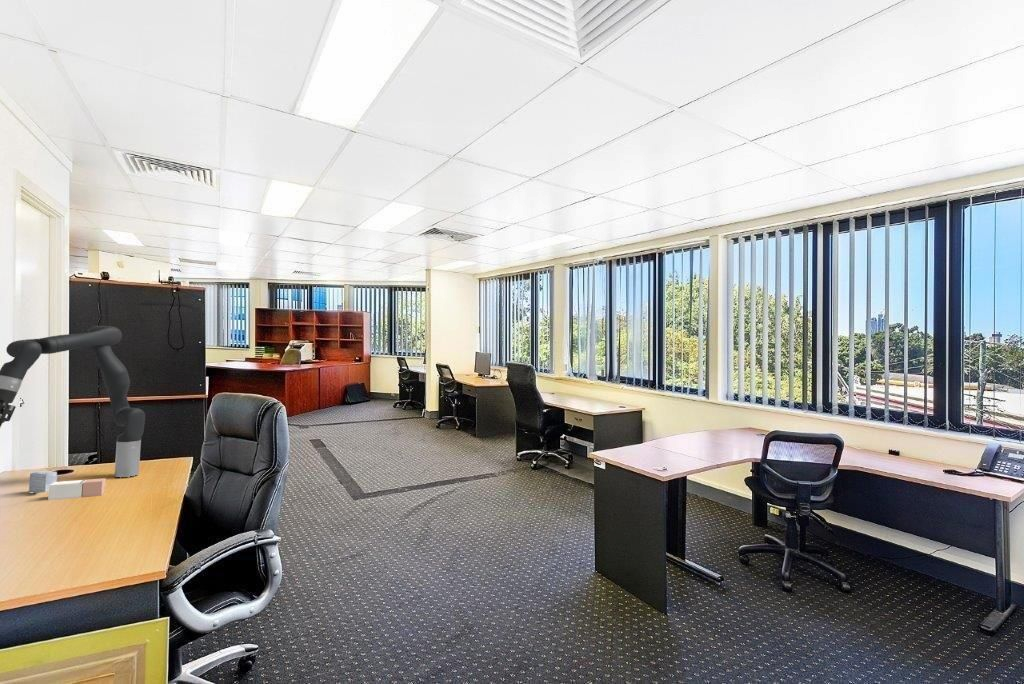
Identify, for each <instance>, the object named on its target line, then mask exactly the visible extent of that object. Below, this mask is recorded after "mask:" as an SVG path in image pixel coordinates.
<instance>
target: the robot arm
mask: <svg viewBox="0 0 1024 684" xmlns="http://www.w3.org/2000/svg"><path fill="white" fill-rule="evenodd" d="M122 334H123V333H122V331H121V330H120V329H119V328H118V327H116V326H111V325H93V326H91V327H90V328H89V329H88V330H87V332H84V333H83V332H82V333H70V334H69V333H68V334H59V335H52V336H47V337H46V336H45V337H41V338H30V339H20V340H14V341H12V342H10V343H9V344H8V345H7V347H6V353H7V355H9V356H10V357H12V358H13V359H11V361H7V362H4V363H3V365H2V366H1V368H0V428H1V427H2V425H3V423H6V422H10V421H11V419H12V417H13V414H14V412H15V409H16V407H17V406H16V405H14V404H13V402H14V400H15V398H16V396H17V395H18V392H19V390H20V389H21V385H22V382H23V380H24V378H25V376H26V374H27V372H28V371H29V370H30V368H31V367H32V366H33V365H34V364H35V363H36V362H37V361H38V359H39V358H40V357H41V355H49V354H56V353H61V352H67V351H71V350H76V349H77V350H78V349H82V348H89V347H91V349H92V351H93V353H94V356H95V358H96V360H97V364H98V366H99V369H100V372H101V375H102V380H103V383H104V385H105V388H106V391H107V394H108V397H109V401H110V402H109V403H110V405H111V406H110V407H111V412H112V418H113V421H114V423H115V424H116V425H117V426H120V427H124V430H123V432H122V433H120V434H118V435H117V437H116V445H115V446H116V448H115V461H114V462H115V463H114V474H113V475H114V476H115V477H120V478H119V479H122V478H121V477H128V478H131V477H130V476H134V477H136V476H135V475H137V476H139V475H138V474H140V464H141V463H140V462H141V461H140V460H141V459H140V458H141V447H142V446H141V444H142V436H143V434H144V433H145V432H144V431H145V423H146V414H145V412H144V410H143V409H141V408H137V407H135V408H134V407H131V405H130V404H129V401H128V400H129V399H128V391H129V389H130V385H131V379H130V376H129V372H128V369H127V368H126V366H125V365H124V363H122V361H121V360H120V359H119V358H118V357H117V356H116V355H115V353H114V352H113V349H112V347H111V346H115V345H117V344H118V343H120V341H121V340H122V337H123V335H122ZM11 404H13V405H11ZM115 477H114V478H115Z"/></svg>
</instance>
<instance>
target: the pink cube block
mask: <svg viewBox="0 0 1024 684" xmlns="http://www.w3.org/2000/svg"><path fill="white" fill-rule="evenodd" d="M106 482H107V479H106V478H103V477H102V478H94V479H93V478H92V479H86V481H85V482H84V483H83V493H82V497H81V498H85V497H97V496H98V497H99V496H103V495H104V494H105V492H106Z"/></svg>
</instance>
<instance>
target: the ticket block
mask: <svg viewBox="0 0 1024 684" xmlns="http://www.w3.org/2000/svg"><path fill="white" fill-rule="evenodd" d="M86 480H87V479H78V480H64V481H57V482H54V483H52V484H50V485H49V491H48V495H47V497H48V498H47V500H48V501H53V500H64V499H74V498H83V497H82V493H83V483H84V482H85V481H86Z"/></svg>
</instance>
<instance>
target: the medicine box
mask: <svg viewBox="0 0 1024 684" xmlns="http://www.w3.org/2000/svg"><path fill="white" fill-rule="evenodd" d="M54 482H58V471H51V470H49V471H48V470H40V471H39V470H38V471H35V472H34V471H33V472H31V473H30V475H29V485H28V486H29V489H28V493H29V492H33V493H38V494H39V493H41V492H42V493H46V492H49V485H50V484H52V483H54Z"/></svg>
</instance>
